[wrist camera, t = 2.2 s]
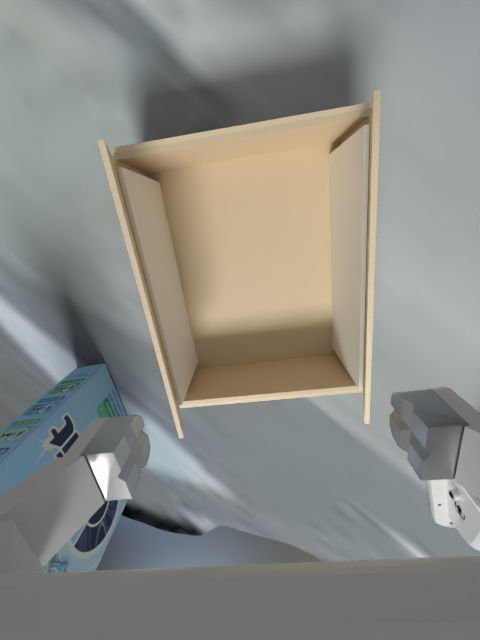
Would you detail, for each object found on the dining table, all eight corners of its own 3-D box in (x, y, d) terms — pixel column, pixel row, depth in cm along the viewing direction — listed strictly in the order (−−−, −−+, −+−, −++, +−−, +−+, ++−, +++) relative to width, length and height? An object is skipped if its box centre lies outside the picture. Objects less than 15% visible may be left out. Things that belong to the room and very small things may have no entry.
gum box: (146, 460, 46) (54, 672, 24) (118, 463, 46) (4, 673, 25) (106, 361, 39) (-70, 531, 18) (74, 366, 40) (-134, 537, 18)
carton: (343, 357, 37) (374, 403, 28) (190, 372, 39) (171, 420, 30) (343, 132, 28) (388, 89, 19) (142, 166, 30) (93, 142, 21)
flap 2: (367, 385, 29) (369, 424, 24) (363, 385, 29) (364, 423, 24) (375, 117, 21) (381, 89, 16) (369, 119, 21) (373, 91, 16)
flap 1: (177, 401, 31) (183, 437, 25) (174, 402, 31) (179, 439, 25) (115, 162, 23) (104, 139, 17) (110, 163, 22) (97, 140, 17)
